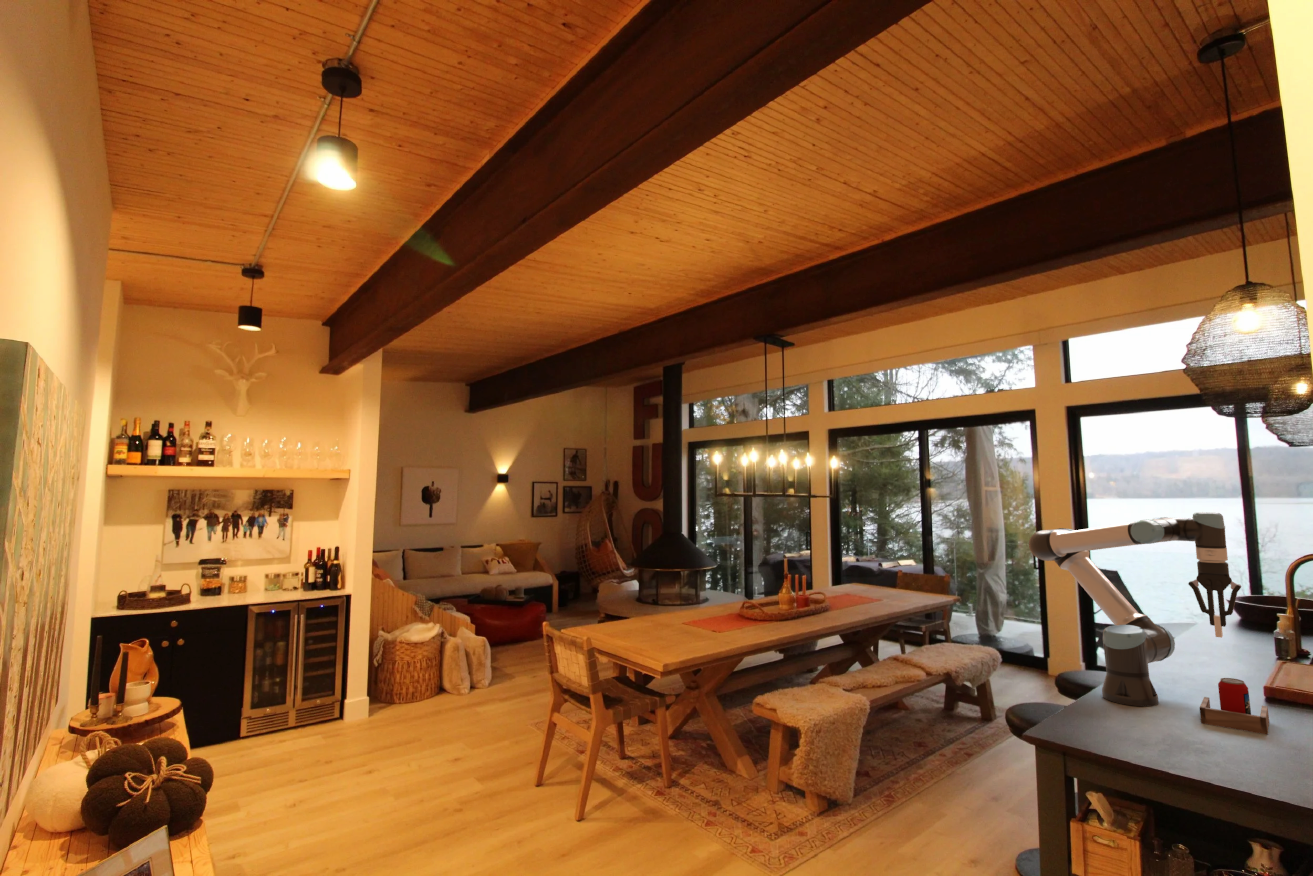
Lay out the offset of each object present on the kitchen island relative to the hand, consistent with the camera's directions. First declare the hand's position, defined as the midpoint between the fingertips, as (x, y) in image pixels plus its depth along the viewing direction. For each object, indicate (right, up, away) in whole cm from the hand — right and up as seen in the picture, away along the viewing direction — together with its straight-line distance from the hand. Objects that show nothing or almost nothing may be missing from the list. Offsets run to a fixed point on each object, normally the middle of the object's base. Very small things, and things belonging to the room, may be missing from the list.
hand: (1219, 636), depth 203 cm
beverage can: (-5, -22, -12) cm, 26 cm away
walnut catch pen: (-6, -22, -12) cm, 26 cm away
